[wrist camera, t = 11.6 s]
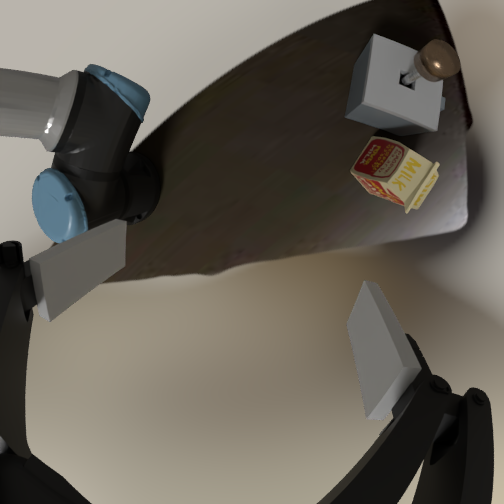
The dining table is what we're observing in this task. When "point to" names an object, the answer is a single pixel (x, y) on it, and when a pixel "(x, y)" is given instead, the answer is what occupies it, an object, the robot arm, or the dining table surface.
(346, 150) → the dining table surface
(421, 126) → the grey box with hole
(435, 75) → the plunger
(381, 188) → the milk carton
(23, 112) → the robot arm
